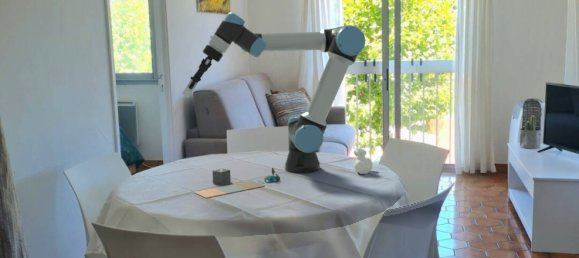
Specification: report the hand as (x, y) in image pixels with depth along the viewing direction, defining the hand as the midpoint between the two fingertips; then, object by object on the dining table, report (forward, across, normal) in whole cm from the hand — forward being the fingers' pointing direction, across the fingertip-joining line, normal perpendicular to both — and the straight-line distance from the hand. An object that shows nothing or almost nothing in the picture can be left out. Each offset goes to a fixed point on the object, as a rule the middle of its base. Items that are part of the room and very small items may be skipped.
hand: (185, 93), depth 223 cm
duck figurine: (-13, -1, +79) cm, 80 cm away
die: (+22, +2, +31) cm, 38 cm away
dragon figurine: (+11, +5, +47) cm, 49 cm away
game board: (+20, +14, +33) cm, 42 cm away
